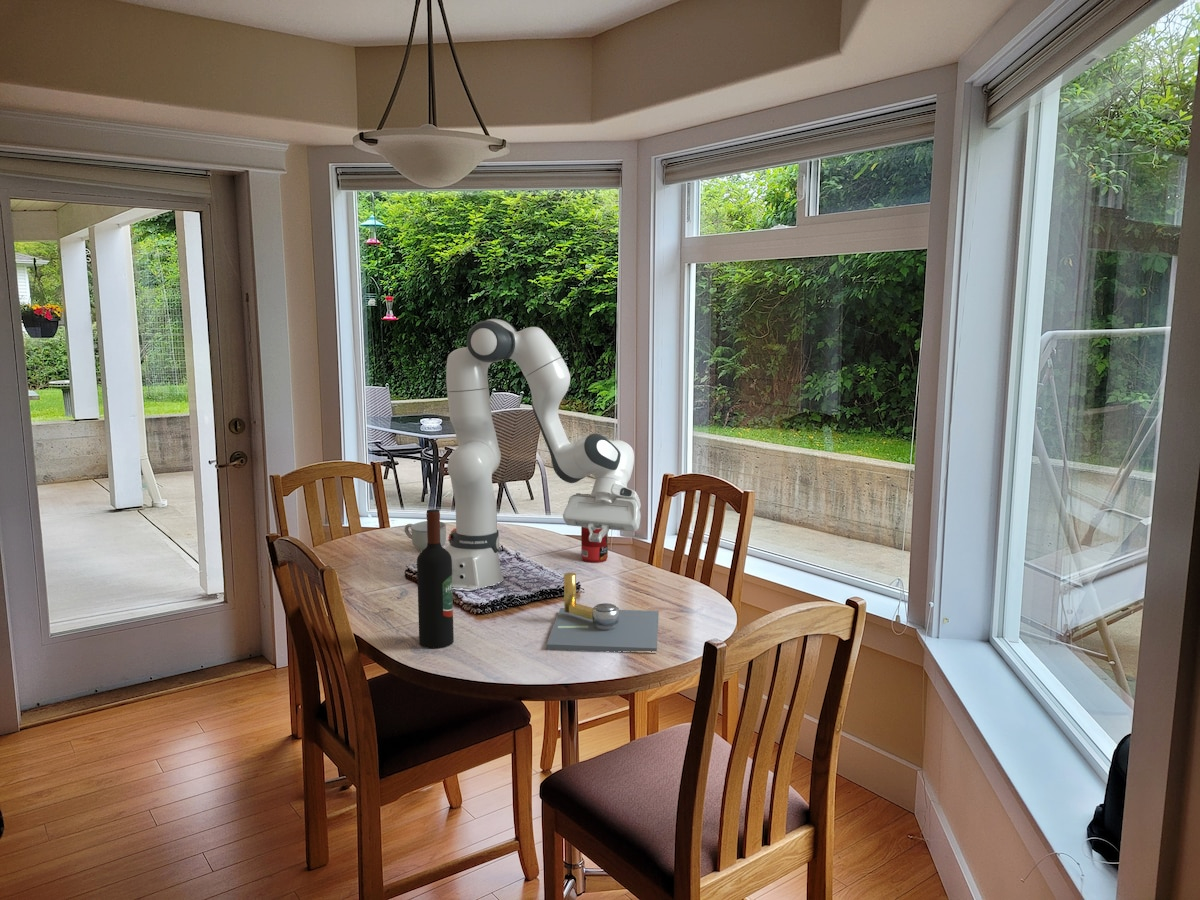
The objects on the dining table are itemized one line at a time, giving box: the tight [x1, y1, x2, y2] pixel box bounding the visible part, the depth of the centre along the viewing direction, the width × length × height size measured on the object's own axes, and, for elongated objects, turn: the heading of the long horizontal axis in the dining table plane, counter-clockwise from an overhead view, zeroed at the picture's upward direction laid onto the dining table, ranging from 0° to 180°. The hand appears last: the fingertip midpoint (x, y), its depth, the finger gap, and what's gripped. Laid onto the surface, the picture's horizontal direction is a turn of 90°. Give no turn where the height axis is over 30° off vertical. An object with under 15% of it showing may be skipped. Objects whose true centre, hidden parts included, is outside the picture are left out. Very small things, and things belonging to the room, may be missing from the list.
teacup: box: [404, 520, 447, 552], centre depth 268 cm, size 14×11×8 cm
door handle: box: [563, 572, 620, 626], centre depth 199 cm, size 15×6×9 cm, turn 50°
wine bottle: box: [416, 508, 455, 650], centre depth 188 cm, size 8×8×30 cm
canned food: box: [580, 527, 609, 564], centre depth 256 cm, size 8×8×11 cm
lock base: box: [545, 607, 660, 653], centre depth 197 cm, size 24×24×2 cm
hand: (594, 540), depth 217 cm, fingers closed
